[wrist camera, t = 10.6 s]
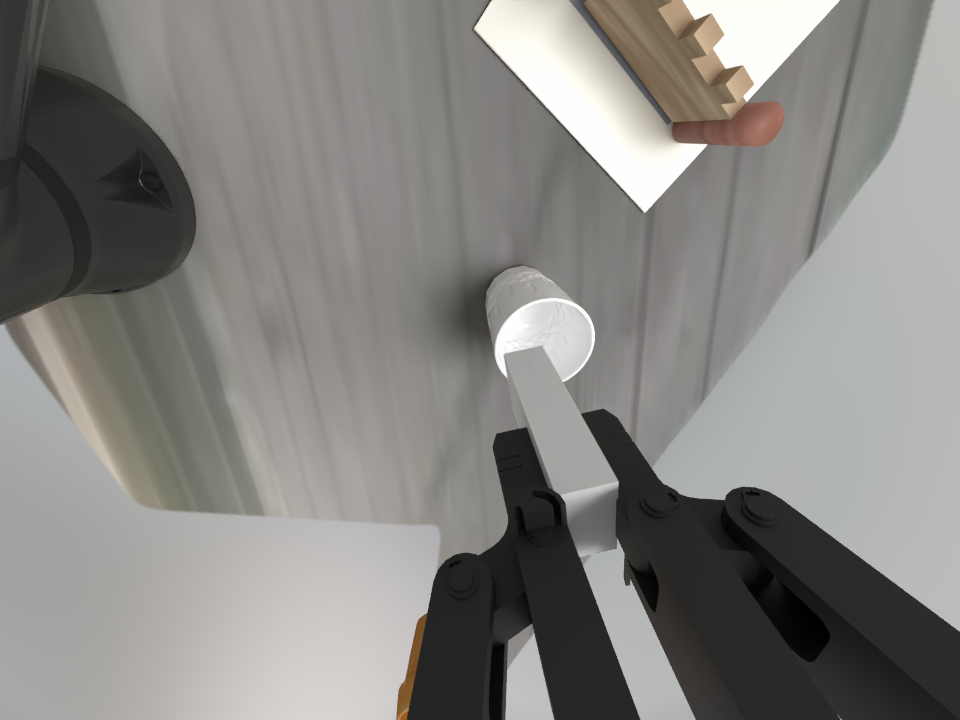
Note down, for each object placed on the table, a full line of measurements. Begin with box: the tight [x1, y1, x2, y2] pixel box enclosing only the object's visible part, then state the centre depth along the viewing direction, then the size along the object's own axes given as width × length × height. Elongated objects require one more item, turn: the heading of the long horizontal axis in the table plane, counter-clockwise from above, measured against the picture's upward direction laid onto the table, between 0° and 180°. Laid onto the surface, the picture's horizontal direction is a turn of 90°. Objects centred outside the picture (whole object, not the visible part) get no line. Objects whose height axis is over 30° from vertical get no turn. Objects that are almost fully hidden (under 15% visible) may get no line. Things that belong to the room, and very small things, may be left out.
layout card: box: [474, 0, 839, 212], centre depth 28 cm, size 20×19×1 cm
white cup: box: [485, 266, 595, 382], centre depth 34 cm, size 8×8×10 cm
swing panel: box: [583, 0, 784, 146], centre depth 25 cm, size 2×13×8 cm, turn 51°
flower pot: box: [397, 614, 427, 720], centre depth 62 cm, size 14×14×13 cm
